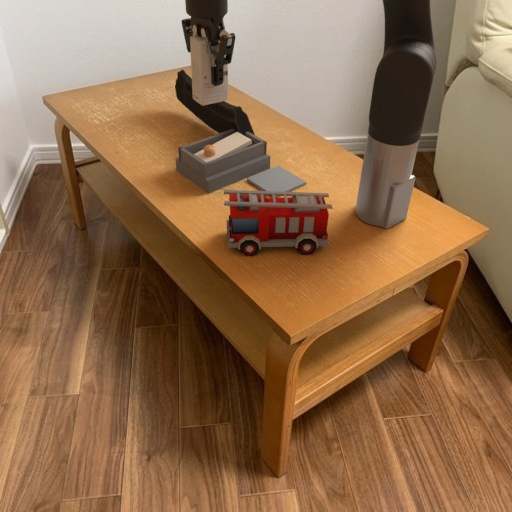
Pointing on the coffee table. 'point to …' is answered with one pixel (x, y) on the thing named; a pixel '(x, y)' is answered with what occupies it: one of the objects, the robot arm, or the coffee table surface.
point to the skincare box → (205, 74)
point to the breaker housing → (222, 162)
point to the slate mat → (276, 180)
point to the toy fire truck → (276, 220)
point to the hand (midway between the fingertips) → (209, 80)
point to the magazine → (212, 109)
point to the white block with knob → (224, 147)
